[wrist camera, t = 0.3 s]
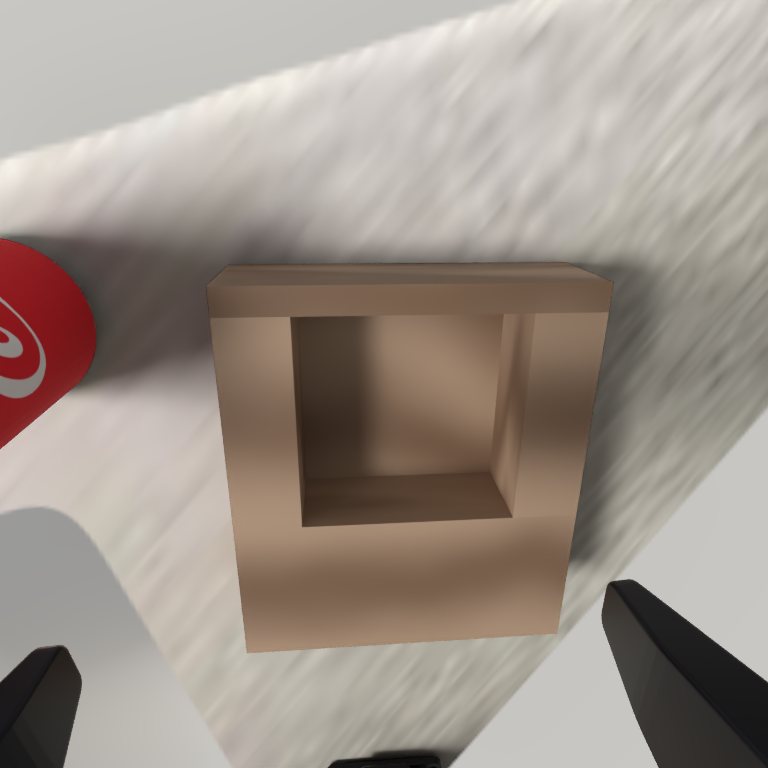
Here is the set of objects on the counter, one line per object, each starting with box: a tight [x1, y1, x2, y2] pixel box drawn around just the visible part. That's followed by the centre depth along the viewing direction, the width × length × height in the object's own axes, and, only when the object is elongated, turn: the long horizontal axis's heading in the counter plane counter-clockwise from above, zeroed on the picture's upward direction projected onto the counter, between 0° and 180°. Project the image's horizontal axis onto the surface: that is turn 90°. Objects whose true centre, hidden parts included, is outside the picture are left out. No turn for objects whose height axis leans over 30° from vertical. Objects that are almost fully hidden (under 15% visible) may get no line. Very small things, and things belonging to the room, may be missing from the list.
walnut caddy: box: [206, 262, 614, 653], centre depth 22 cm, size 15×13×4 cm
